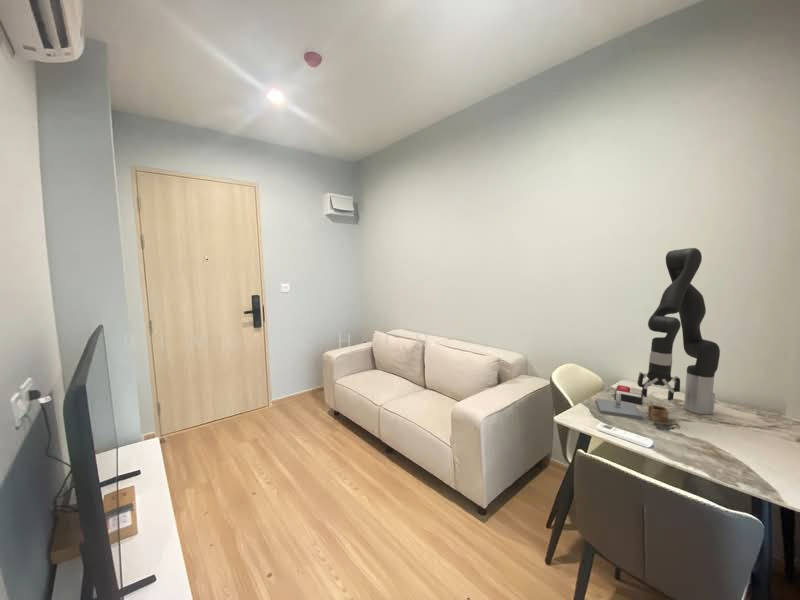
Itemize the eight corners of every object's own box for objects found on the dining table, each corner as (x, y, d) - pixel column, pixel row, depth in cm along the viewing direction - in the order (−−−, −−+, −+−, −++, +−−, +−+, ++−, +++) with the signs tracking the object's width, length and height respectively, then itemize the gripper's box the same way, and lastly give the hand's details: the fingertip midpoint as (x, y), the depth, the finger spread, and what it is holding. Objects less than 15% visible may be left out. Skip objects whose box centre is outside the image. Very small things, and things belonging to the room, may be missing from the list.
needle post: (620, 404, 150) (620, 391, 149) (620, 405, 148) (621, 393, 147) (615, 403, 151) (615, 391, 150) (615, 405, 149) (616, 392, 148)
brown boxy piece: (663, 417, 142) (664, 406, 141) (667, 423, 137) (668, 411, 136) (647, 415, 144) (648, 404, 143) (651, 420, 139) (652, 409, 138)
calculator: (642, 388, 166) (642, 396, 154) (642, 396, 166) (641, 405, 154) (617, 384, 173) (614, 391, 161) (616, 391, 173) (614, 399, 161)
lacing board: (634, 406, 153) (634, 403, 152) (642, 419, 140) (642, 416, 140) (595, 401, 159) (595, 398, 159) (599, 413, 147) (600, 410, 146)
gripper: (678, 361, 138) (674, 398, 140) (638, 357, 144) (635, 392, 146) (684, 366, 132) (680, 404, 133) (642, 362, 138) (639, 398, 139)
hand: (656, 398), depth 140 cm, fingers open, 8 cm apart
